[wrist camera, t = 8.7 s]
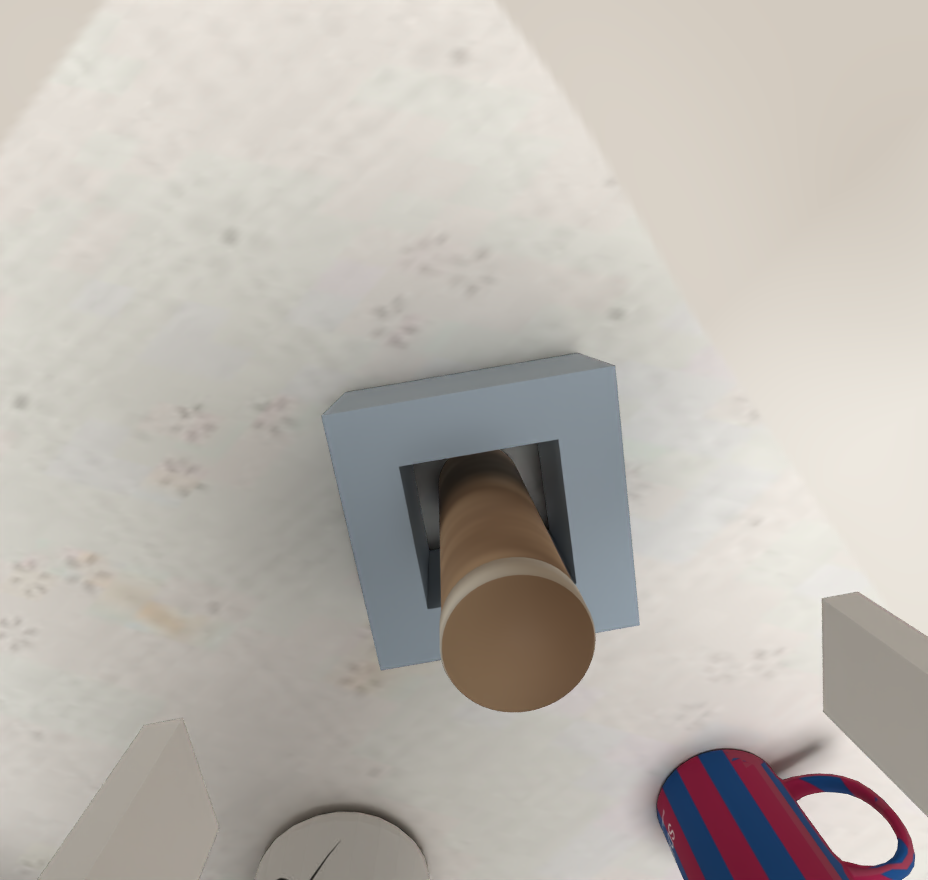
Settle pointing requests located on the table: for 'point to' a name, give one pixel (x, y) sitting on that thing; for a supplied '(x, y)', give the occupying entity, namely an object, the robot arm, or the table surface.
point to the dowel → (505, 592)
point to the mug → (343, 851)
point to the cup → (761, 823)
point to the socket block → (468, 432)
